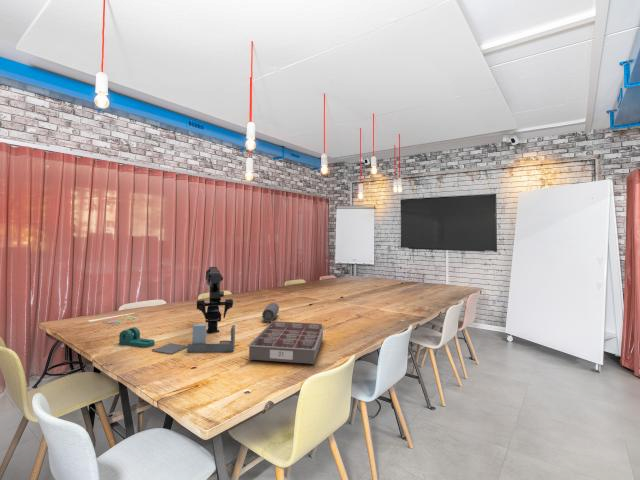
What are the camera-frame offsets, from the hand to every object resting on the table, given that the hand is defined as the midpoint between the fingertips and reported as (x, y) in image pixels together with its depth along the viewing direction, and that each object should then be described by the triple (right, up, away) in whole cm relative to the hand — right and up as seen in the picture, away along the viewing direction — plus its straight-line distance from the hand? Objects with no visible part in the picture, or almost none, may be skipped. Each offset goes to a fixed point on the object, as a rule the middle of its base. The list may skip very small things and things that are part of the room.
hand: (215, 318), depth 177 cm
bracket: (-40, -14, -1) cm, 43 cm away
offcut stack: (+7, -15, -7) cm, 18 cm away
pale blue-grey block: (-6, -14, -8) cm, 17 cm away
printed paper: (-76, -13, +46) cm, 90 cm away
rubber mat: (-20, -14, -7) cm, 26 cm away
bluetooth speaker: (+21, -14, +58) cm, 64 cm away
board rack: (0, -14, -7) cm, 16 cm away
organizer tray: (+40, -16, -4) cm, 43 cm away
